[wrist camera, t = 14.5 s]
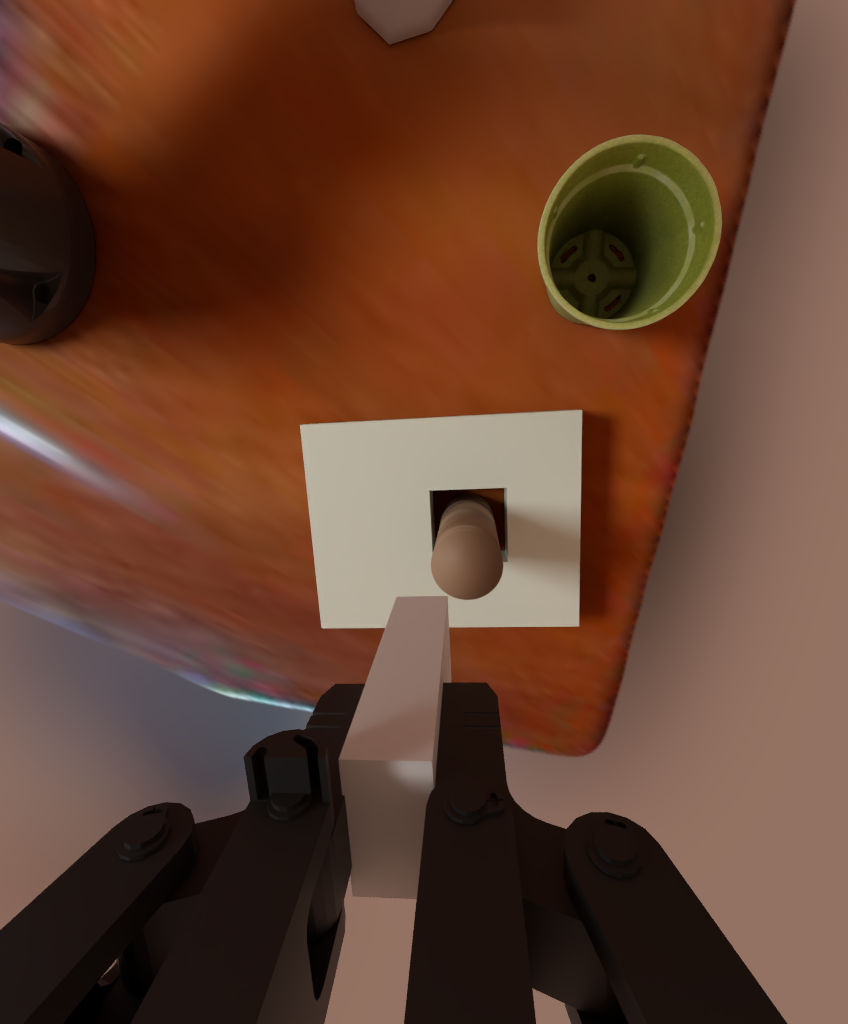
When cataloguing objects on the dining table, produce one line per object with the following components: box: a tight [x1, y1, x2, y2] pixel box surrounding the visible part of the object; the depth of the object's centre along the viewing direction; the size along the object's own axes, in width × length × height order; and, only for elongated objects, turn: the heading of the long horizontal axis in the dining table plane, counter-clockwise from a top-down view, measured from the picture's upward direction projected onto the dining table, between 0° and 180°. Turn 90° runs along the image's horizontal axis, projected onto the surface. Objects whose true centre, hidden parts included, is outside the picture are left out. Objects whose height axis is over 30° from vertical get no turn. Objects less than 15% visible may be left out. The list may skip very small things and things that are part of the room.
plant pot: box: [537, 134, 722, 330], centre depth 29 cm, size 9×9×9 cm
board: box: [300, 410, 582, 628], centre depth 37 cm, size 20×16×3 cm
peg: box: [431, 493, 503, 600], centre depth 32 cm, size 4×4×12 cm
